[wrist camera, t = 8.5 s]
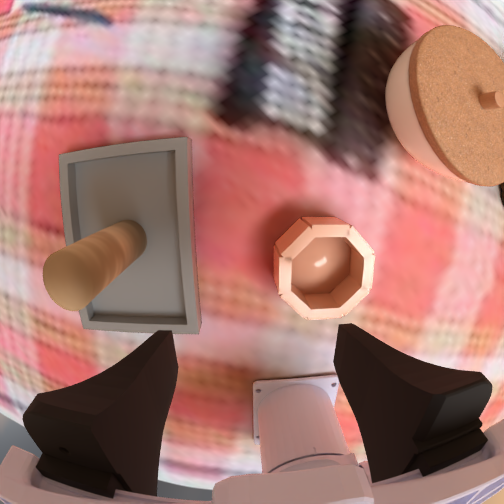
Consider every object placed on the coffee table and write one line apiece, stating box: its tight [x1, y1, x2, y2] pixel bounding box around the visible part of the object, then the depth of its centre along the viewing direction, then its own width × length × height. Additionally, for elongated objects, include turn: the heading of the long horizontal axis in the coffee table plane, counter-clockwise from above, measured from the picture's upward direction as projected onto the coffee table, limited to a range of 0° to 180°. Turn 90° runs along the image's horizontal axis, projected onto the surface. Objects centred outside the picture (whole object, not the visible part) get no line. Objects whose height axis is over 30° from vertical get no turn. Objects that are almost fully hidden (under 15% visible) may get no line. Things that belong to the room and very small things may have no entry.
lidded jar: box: [385, 25, 504, 186], centre depth 15 cm, size 11×11×9 cm
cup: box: [274, 217, 375, 320], centre depth 21 cm, size 7×7×3 cm
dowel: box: [43, 220, 147, 311], centre depth 16 cm, size 3×3×9 cm
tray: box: [59, 137, 202, 334], centre depth 20 cm, size 14×10×2 cm
